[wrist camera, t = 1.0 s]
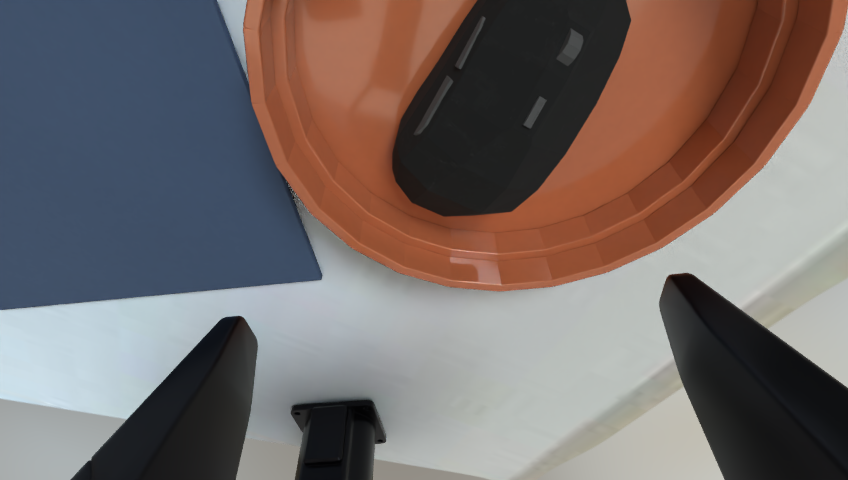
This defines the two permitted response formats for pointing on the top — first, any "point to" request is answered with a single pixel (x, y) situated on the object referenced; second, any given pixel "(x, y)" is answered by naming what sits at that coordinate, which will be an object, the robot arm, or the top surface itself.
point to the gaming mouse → (506, 102)
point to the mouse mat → (134, 157)
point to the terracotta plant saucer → (584, 161)
